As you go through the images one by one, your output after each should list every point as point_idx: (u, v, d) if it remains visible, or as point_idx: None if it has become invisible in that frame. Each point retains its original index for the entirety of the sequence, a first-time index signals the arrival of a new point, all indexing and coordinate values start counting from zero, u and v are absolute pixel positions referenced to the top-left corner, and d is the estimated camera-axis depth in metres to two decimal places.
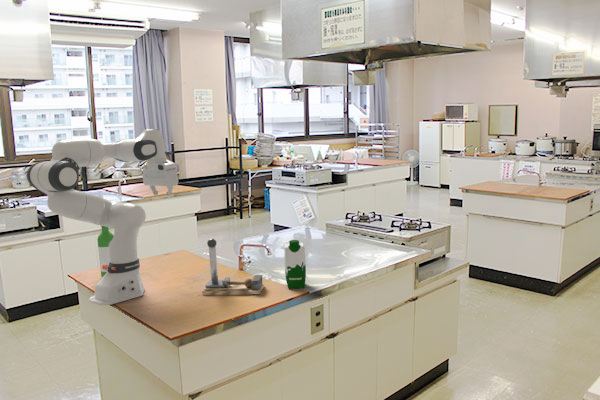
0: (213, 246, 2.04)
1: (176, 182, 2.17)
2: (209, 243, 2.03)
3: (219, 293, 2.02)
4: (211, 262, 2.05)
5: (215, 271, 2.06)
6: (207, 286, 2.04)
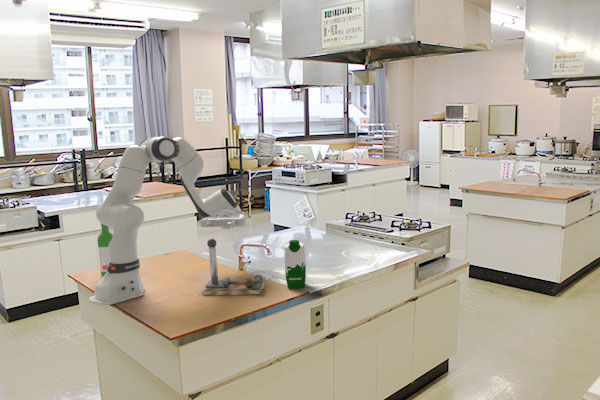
0: (213, 246, 2.04)
1: (244, 222, 2.21)
2: (209, 243, 2.03)
3: (219, 293, 2.02)
4: (211, 262, 2.05)
5: (215, 271, 2.06)
6: (207, 286, 2.04)
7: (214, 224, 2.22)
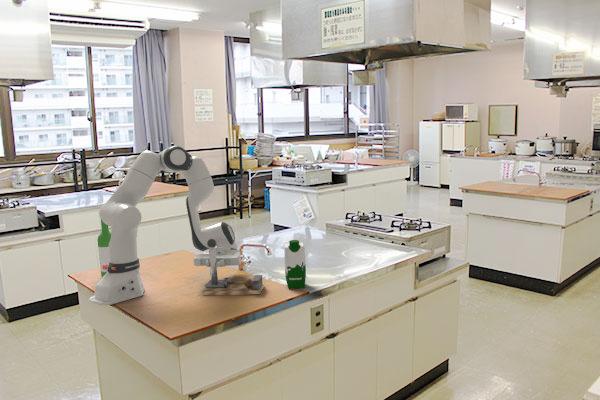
0: (213, 246, 2.04)
1: (239, 261, 2.10)
2: (209, 243, 2.03)
3: (219, 293, 2.02)
4: (211, 262, 2.05)
5: (215, 271, 2.06)
6: (207, 286, 2.04)
7: None
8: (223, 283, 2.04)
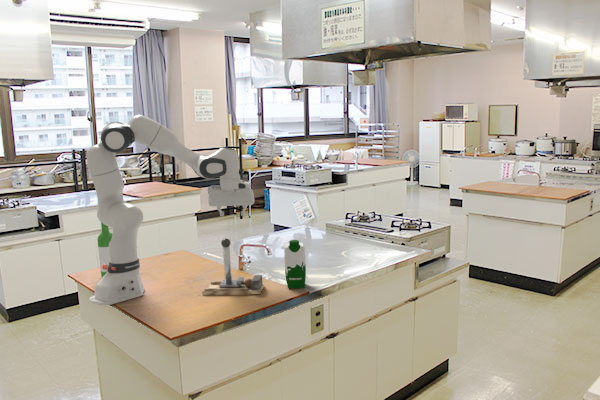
0: (227, 246, 2.03)
1: (254, 201, 2.17)
2: (223, 243, 2.02)
3: (219, 293, 2.02)
4: (225, 262, 2.04)
5: (229, 271, 2.05)
6: (221, 286, 2.04)
7: None
8: (237, 283, 2.04)
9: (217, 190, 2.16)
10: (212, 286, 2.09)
